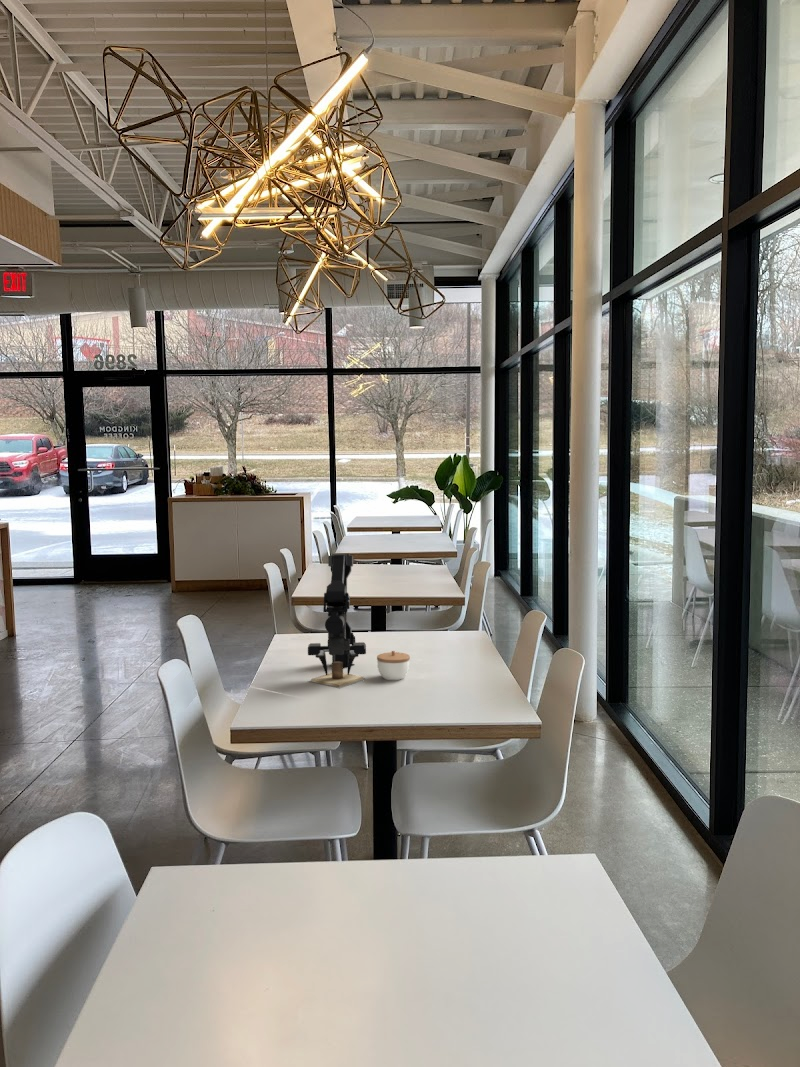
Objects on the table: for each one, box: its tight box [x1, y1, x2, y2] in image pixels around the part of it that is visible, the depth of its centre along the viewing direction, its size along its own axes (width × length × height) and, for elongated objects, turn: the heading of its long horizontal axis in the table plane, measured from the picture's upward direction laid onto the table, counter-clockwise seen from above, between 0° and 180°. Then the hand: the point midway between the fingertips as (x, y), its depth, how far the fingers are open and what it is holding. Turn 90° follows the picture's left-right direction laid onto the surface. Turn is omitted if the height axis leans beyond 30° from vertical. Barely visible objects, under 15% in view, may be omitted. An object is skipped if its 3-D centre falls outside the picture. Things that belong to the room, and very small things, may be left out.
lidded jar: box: [376, 650, 411, 681], centre depth 292 cm, size 11×11×9 cm
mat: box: [307, 677, 367, 689], centre depth 290 cm, size 14×14×1 cm
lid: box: [310, 662, 364, 687], centre depth 290 cm, size 12×12×6 cm
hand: (337, 674), depth 290 cm, fingers open, 7 cm apart
